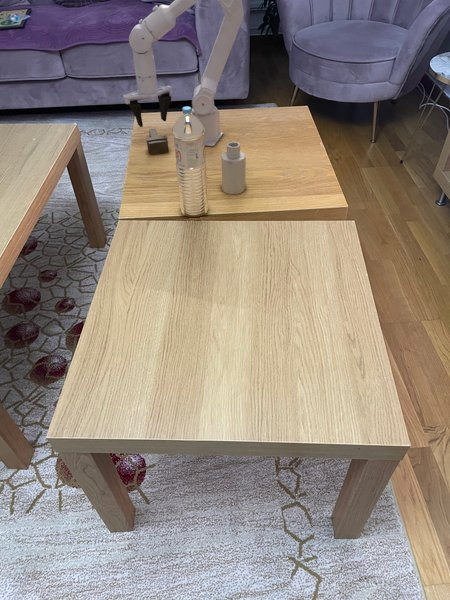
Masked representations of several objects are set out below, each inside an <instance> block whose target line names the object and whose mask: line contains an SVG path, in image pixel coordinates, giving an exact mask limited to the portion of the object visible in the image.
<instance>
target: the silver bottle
mask: <svg viewBox="0 0 450 600" xmlns="http://www.w3.org/2000/svg"><path fill="white" fill-rule="evenodd" d="M220 157H221V189H222V191H223V192H224V193H226V194H227V195H238V194H241V193H243V192H244V191H245V190H246V165H247V164H246V163H247V161H246V160H247V159H246V158H247V157H246V154H245V152H242V151H241V144H240V142H238V141H229V142H227V144H226V151H225V152H223V153H222V154H221V155H220Z"/></svg>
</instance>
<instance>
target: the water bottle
mask: <svg viewBox="0 0 450 600" xmlns="http://www.w3.org/2000/svg"><path fill="white" fill-rule="evenodd" d="M181 111H182V115H181V116H179V118H177V120H175V122H174V124H173V126H172V136H173V141H174V143H173V144H174V153H175V168H176V177H177V187H178V197H179V207H180V211H181V213H182V215H184V216H185V217H188V218H200V217H202V216H204V215H206V214H207V212H208V210H209V196H208V195H209V193H208V178H207V177H208V176H207V173H208V172H207V160H206V148H205V147H206V145H204V126H203V124H202V123H201V121H200V120H199V119H198V118H196V117H195V116H194V115H192V106H187V105H186V106H183V107H182V108H181Z"/></svg>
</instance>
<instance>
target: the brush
mask: <svg viewBox="0 0 450 600" xmlns="http://www.w3.org/2000/svg"><path fill="white" fill-rule="evenodd" d="M148 134H149V135H148V136H149V137H145V140H146V147H147V151H148V154H150V156H151V155H158V154H167V153H169V151H170V150H169V140H168V136H167V135H166V134H165V135H159V133H158V131H157V129H156V128H149V129H148Z"/></svg>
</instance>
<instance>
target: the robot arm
mask: <svg viewBox="0 0 450 600" xmlns="http://www.w3.org/2000/svg"><path fill="white" fill-rule="evenodd" d="M199 1H200V0H174V1H172V2H171V3H170V4H169V5H167V4H159V6H158V5H157V4H156V5H155V6H154V7H152V12H151V13H150V14H148V16H146V17H145V18H141V19H140V20H138V24H135V26H134V27H133V28H132V29H131V31H130V33H129V36H128V43H129V46H130V48H131V49H132V55H133V56H132V57H133V58H132V60H133V66H134V73H135V80H136V88H137V90H135V91H132V92H129V93H127V94H123V102H124V103H125V104H126V105H127V106H129V108H130V110H131V111H132V113H133V115H134V117H135V120H136V122H137V125H138V127H140V128H143V127H144V124H143V117H142V105H141V104H140V102H139V101H143V100H147V99H155V98H157V100H158V105H159V112H160V119H161V120H162V121H163V122H167V116H168V111H169V107H170V104H171V102H172V95H174V91H173V87H172V85H163V86H162V85H161V86H158V79H157V77H158V76H157V69H156V62H155V61H156V60H155V55H154V50H153V48H154V47H153V45H152V44H153V43H154V42H155V43H156V42H158V41H159V40H161V38H163V37H164V36H165V35H166V34H168V33H169V32H170V31H171V30H173V28H175V27H176V23H177V18H178V17H179V16H181V15H182V14H183V13H185V12H186V11H187V10H189V9H190V8H191V7H192V6H193V5H195V4H196V3H198V2H199ZM216 1H217V2H218V3H219V5H220V8H221V9H222V12H223V14H224V16H223V19H222V21H221V24H220V27H219V30H218V33H217V34H216V38H215V41H214V43H213V47H212V48H211V51H210V55H209V57H208V61H207V63H206V66H205V69H204V71H203V74H202V76H201V78H200V80H199V82H198V83H197V84H196V85H195V86H194V88H193V91H192V94H193V96H192V99H191V112H192V113H191V114H192V115H194V116H195V117H196V118H198V119H199V120H200V121H201V123H202V124H203V126H204V145H205V147H214V146H216V144H217V142H218V141H219V140H220V139H221V137H222V136H223V135H224V132H222V131H221V119H220V118H221V115H220V111H219V109H218V108H217V107H216V106H215V96H216V94H217V89H218V86H219V82H220V80H221V77H222V74H223V72H224V69H225V66H226V64H227V62H228V59H229V56H230V54H231V52H232V49H233V45H234V43H235V40H236V38H237V35H238V34H239V33H238V32H239V30H240V27H241V25H242V23H243V20H244V16H245V12H244V5H243V0H216Z"/></svg>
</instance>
